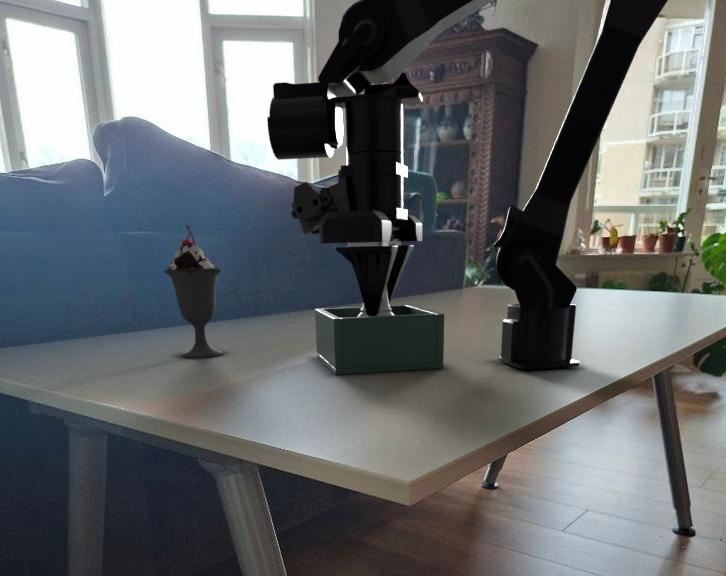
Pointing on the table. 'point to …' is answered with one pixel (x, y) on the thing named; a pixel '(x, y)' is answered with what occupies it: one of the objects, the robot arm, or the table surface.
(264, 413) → the table surface
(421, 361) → the bin
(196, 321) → the sundae
